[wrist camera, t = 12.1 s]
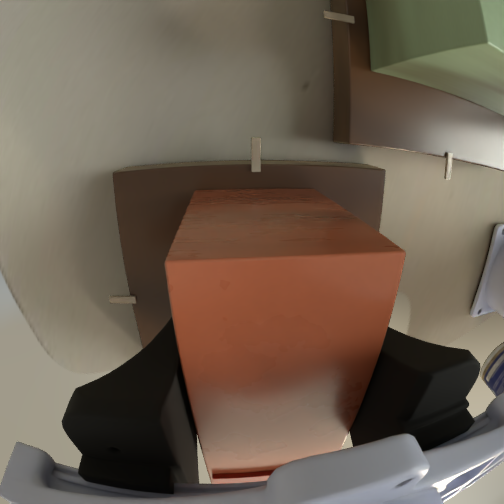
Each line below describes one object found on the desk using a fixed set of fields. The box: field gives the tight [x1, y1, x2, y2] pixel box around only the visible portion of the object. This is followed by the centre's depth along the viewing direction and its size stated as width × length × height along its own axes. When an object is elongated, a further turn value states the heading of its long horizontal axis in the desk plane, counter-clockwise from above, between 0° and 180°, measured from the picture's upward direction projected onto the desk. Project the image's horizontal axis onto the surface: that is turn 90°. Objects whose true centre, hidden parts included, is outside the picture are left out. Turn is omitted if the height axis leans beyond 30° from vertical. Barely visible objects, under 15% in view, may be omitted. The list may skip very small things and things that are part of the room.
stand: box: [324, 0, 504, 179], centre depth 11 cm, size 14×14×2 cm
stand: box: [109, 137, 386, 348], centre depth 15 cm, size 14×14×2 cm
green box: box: [366, 0, 504, 115], centre depth 7 cm, size 10×5×7 cm, turn 90°
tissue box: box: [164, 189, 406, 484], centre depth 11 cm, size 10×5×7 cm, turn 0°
